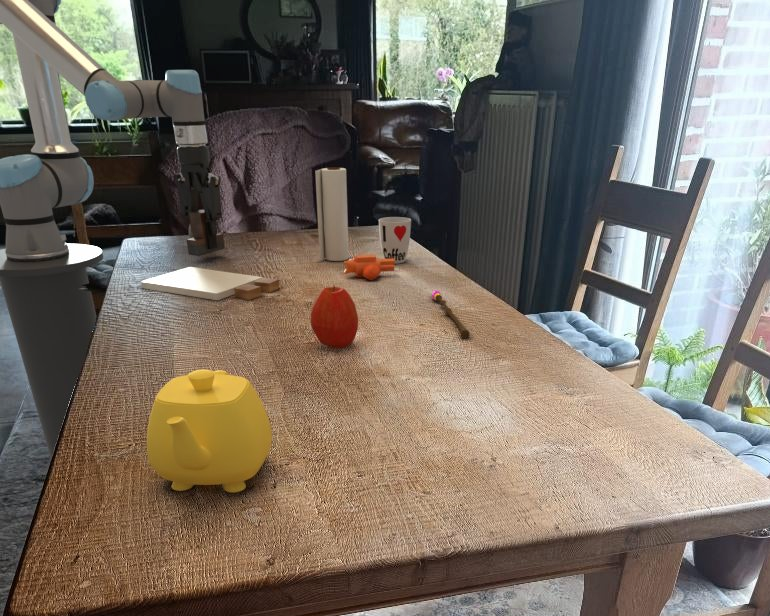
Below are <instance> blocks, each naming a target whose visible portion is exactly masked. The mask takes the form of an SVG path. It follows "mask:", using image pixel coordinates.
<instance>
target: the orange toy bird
mask: <svg viewBox="0 0 770 616" xmlns="http://www.w3.org/2000/svg"><path fill="white" fill-rule="evenodd" d="M343 264H344V265H345V269H344V271H343V273H344V275H347V274H350V273H354V275H356V277H357V278H366V279H367V280H368V281H373V280H374V279H377V278H378V277H380V274H381V273H383V272H395V265H396V264H395V260H394V258H393V259H384V258H379V257H377V256H376V254H356V255H355V256H353V258H348V259H347V260H343Z"/></svg>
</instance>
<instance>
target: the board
mask: <svg viewBox="0 0 770 616" xmlns="http://www.w3.org/2000/svg"><path fill="white" fill-rule="evenodd" d="M261 278H264V277H263V276H258V275H250V274H245V273H244V274H243V273H236V272H230V271H222V270H215V269H208V268H203V267H202V268H201V267H193V266H188V267H185V268H181V269H177V270H175V271H171V272H168V273H165V274H161V275H158V276H155V277H151V278H147V279H144V280H141V281H140V285H141V288H142V289H144V290H151V291H156V292H157V291H158V292H164V293H170V294H176V295H181V296H189V297H193V298H201V299H206V300H212V301H216V302H217V301H220V300H223V299H226V298H228V297H232V296H235V290H234V288H236V287H239V286H243V285H246V284H249V285H254V281H257V280H259V279H261Z"/></svg>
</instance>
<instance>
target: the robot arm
mask: <svg viewBox="0 0 770 616" xmlns="http://www.w3.org/2000/svg"><path fill="white" fill-rule="evenodd" d="M61 4H62V0H0V25H3V26H4V27H5V28H6V29H7V30H9V31H10V32H11V33H12V37H13V42H14V47H15V51H16V56H17V62H18V65H19V69H20V76H21V80H22V84H23V89H24V94H25V99H26V103H27V107H28V112H29V117H30V122H31V127H32V131H33V136H34V142H35V143H34V144H33V146H32V148H31V149H30V152H31V154H18V155H14V156H13V155H12V156H6V157H2V158H0V208H1V212H2V216H3V220H4V224H5V248H4V249H5V253H6V256H7V259H8V260H10V261H14V262H40V261H48V260H54V259H59V258H62V257H65V256H67V255H69V254H70V252H69V248H68V245H67V242H66V241H67V236H66V233H63V234H62V233H61V231H60V229H59V227H58V225H57V224H56V221H55V217H54V212H53V209H57V208H62V207H67V206H75V205H78V204H80V203H83V202H85V201H87V200H88V198H89V197H90V196H91V194H92V193H93V190H94V185H95V183H94V182H95V179H94V174H93V170H92V168H91V166H90V165H88V162H87V161H86V160H85V159H84V158H83V157H81V154H80V149H79V148H78V147H77V146H76V145H75V144H73V142H72V139H71V134H70V129H69V122H68V117H67V112H66V107H65V101H64V96H63V90H62V86H61V80H60V76H61V77H62V78H63V79H64V80H65V81H67V82H68V83H69V84H70V85H71V86H72V87H73V88H75V89H76V90H77V91H78V92H79V93H81V95H83V96H84V99H85V104H86V106H87V107H88V109H89V112H90V113H91V114H92V115H93V116H94V117H96V119H99V120H101V121H109V122H115V121H122V120H131V119H145V118H171V121H172V126H173V132H174V138H175V144H176V145H178V146H177V148H176V154H177V160H178V163H179V164H180V165H181V167H180V172H178V173H174V174H173V175H172V178H173V180H174V182H175V185H176V189H177V195H178V200H179V206H180V210H181V215H182V217H183V218H187V220H189V226H190V225H191V219H190V212H194V211H198V210H199V196H200V199H201V204H202V207H203V208H202V209H203V210H204V212H205V215H206V219H207V220H205V222H204V223H205V230H206V237H207V245H208V249H214V248H217V241H216V234H217V233H218V229H217V220H219V219H222V218H223V212H222V199H221V187H220V185H221V180H222V178H221V176H220V175H215V173H214V174H213V173H212V170H211V168H210V162H211V157H210V155H211V154H210V149H209V148H210V147H208V145H206V144H208V143H209V139H208V133H207V125H206V121H205V113H204V102H203V101H204V100H203V91H202V87H201V82H200V81H201V80H200V76H199V73H198V72H197V71H196V70H195V69H168V70H166V71H165V79H163V80H161V79H160V80H156V79H155V80H153V79H146V80H145V79H133V80H119V79H117V78H116V77H114V75H112V74H111V73H110V72H109V71H108V70H107V69H105V67H104V66H102V65H101V64H100V63H99V62H98V61H96V59H94V58H93V56H91V55H90V54H89V53H88V52H87V51H86V50H84V48H82V47H81V46H80V45H79V44H77V42H75V41H74V40H73V39H72V38H71V37H70V36H69V35H67V34H66V33H65V32H64V31H63V30H62V29H61V28H60V27H59V26H57V23H56V17H55V14H56V13H57V12H58V11H59V9H60V6H61ZM191 231H192V226H191Z"/></svg>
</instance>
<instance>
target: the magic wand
mask: <svg viewBox="0 0 770 616" xmlns="http://www.w3.org/2000/svg"><path fill="white" fill-rule="evenodd" d="M431 298H432V300H434V301H436V302H439V305H440V306H441V307H444V313H445V314H446V315H447V316H449V317H450V318H451V319H452V320H453V321H454V323H455V325H456V326H457V327H458V328H459V330H460V338H462V339H463V340H464V339H465V340H466V339H468V338H469V337H470V331H469V330H468V329H467V328H466V327H465V326H464V325H463V323H462V322H461V321H460V320H459V319H458V317H457V316H456V315H455V314H454V313H453V310H452V309H451V307H448V305H447V304H446V303H447V302H446V300H444V299H443V296H442V293H441V292H440V291H439V290H432V293H431Z"/></svg>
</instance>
